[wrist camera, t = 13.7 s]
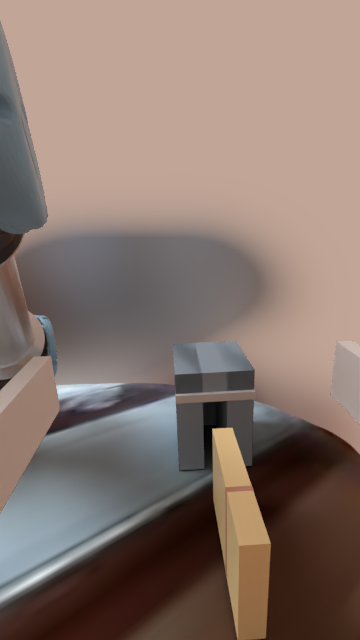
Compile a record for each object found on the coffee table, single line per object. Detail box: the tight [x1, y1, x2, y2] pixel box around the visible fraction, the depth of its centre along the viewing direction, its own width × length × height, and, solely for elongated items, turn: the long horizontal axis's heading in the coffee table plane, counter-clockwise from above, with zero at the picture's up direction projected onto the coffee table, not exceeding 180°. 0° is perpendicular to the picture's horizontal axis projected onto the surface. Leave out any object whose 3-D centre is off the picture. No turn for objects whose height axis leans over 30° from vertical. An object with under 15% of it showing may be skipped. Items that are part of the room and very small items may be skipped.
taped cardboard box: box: [212, 428, 271, 640], centre depth 33 cm, size 15×3×11 cm, turn 2°
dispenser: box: [173, 341, 255, 470], centre depth 51 cm, size 13×11×16 cm
